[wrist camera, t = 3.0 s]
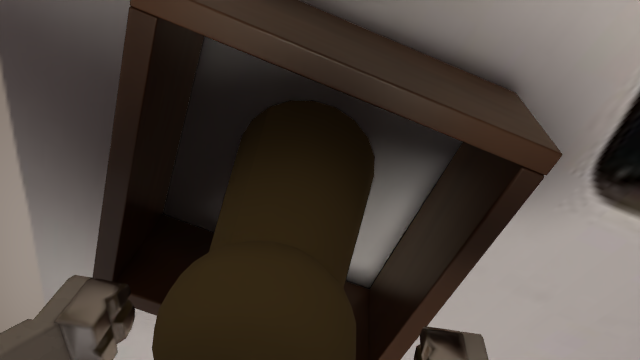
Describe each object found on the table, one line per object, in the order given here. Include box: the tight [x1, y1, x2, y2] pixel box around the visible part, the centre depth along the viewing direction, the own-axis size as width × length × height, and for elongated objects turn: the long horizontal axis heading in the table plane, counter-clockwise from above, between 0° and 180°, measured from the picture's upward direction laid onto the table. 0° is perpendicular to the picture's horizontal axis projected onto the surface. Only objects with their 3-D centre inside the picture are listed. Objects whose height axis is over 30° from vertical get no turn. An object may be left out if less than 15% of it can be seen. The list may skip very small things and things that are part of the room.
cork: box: [152, 101, 375, 360], centre depth 15 cm, size 6×6×11 cm
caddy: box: [93, 0, 562, 360], centre depth 17 cm, size 13×13×5 cm
